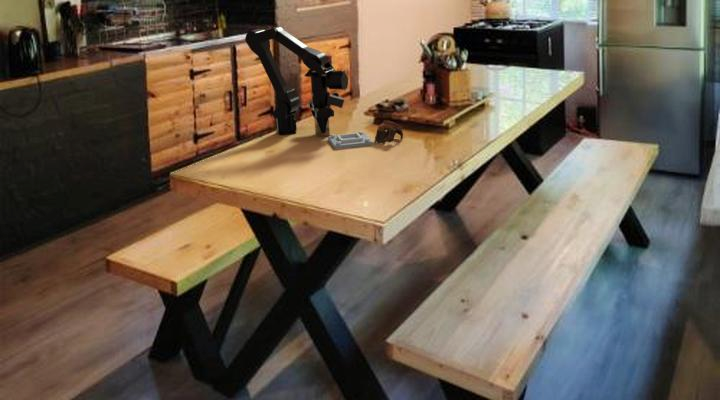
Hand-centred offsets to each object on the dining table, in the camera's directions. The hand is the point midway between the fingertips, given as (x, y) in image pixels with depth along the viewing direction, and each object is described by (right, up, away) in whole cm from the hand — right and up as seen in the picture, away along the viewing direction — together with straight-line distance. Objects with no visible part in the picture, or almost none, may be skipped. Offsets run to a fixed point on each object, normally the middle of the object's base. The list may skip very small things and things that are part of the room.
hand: (322, 131), depth 273 cm
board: (+10, -5, -12) cm, 16 cm away
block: (0, -1, 0) cm, 1 cm away
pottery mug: (+24, -5, -13) cm, 27 cm away
